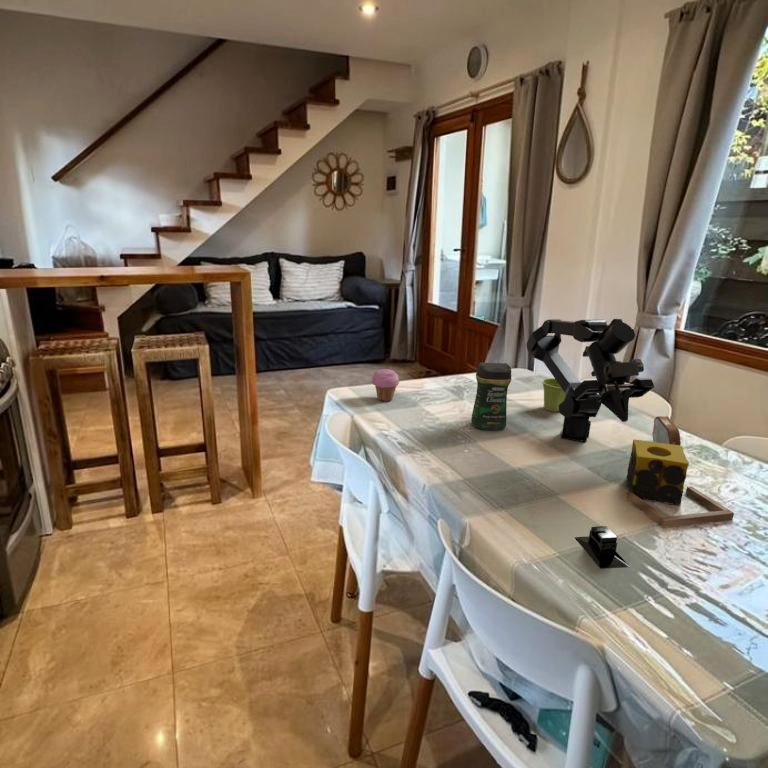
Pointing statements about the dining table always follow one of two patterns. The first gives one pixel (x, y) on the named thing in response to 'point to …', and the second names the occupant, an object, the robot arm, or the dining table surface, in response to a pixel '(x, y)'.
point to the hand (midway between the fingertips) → (625, 421)
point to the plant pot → (552, 394)
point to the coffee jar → (491, 396)
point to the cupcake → (385, 383)
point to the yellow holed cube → (657, 471)
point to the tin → (665, 431)
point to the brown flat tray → (717, 515)
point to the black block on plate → (602, 548)
